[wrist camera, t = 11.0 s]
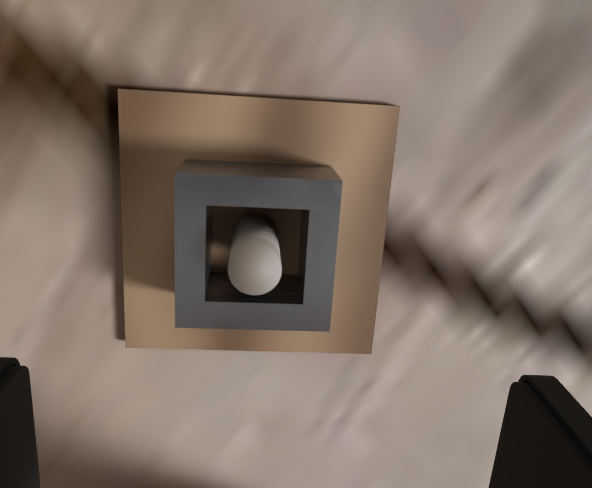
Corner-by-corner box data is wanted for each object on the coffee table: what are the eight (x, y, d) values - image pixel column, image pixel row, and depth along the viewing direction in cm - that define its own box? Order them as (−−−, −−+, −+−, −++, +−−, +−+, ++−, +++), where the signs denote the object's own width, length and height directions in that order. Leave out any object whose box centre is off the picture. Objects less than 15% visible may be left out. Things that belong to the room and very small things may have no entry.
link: (331, 166, 25) (342, 180, 21) (320, 299, 26) (329, 331, 23) (185, 158, 24) (174, 172, 21) (185, 294, 26) (174, 327, 23)
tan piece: (396, 105, 25) (434, 114, 19) (368, 348, 28) (395, 412, 23) (121, 88, 24) (80, 92, 18) (128, 341, 27) (96, 407, 22)
